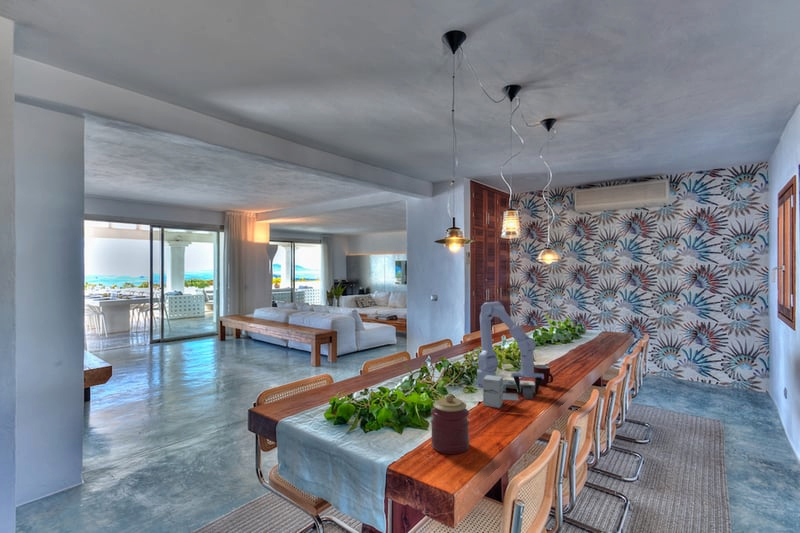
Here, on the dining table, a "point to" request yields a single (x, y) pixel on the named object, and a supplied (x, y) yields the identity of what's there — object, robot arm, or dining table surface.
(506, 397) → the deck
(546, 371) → the mug
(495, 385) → the supplement box
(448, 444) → the canister
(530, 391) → the plug
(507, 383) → the socket bar
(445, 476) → the dining table surface
